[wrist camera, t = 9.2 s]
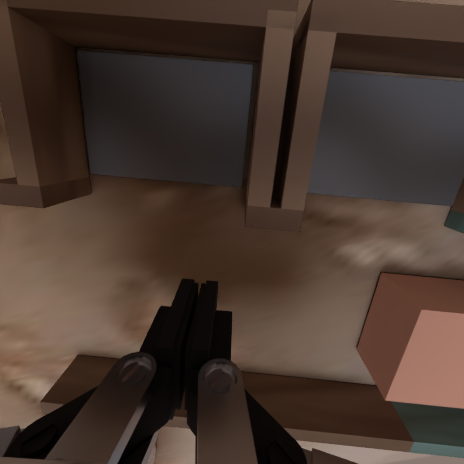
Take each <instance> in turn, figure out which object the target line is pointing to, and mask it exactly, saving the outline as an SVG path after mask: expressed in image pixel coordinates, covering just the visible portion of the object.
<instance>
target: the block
mask: <svg viewBox="0 0 464 464" xmlns="http://www.w3.org/2000/svg"><path fill="white" fill-rule="evenodd" d="M357 351H358V353H359V355H360V356H361V358H362V360H363V362H364V364H365V365H366V367H367V369H368V371H369V373H370V374H371V376H372V378H373V380H374V382H375V383H376V385H377V387H378V389H379V391H380V392H381V394H382V396H383V398H384V400H385V401H395V402H404V403H414V404H423V405H433V406H443V407H452V408H462V409H464V281H463V280H453V279H442V278H432V277H421V276H411V275H400V274H389V273H381V275H380V279H379V282H378V285H377V288H376V291H375V294H374V297H373V300H372V304H371V307H370V310H369V313H368V316H367V319H366V322H365V325H364V329H363V332H362V335H361V338H360V341H359V344H358V347H357Z"/></svg>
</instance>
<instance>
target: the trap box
mask: <svg viewBox="0 0 464 464" xmlns="http://www.w3.org/2000/svg"><path fill="white" fill-rule="evenodd" d="M297 6H298V0H0V101H1V105H2V110H3V115H4V120H5V125H6V130H7V134H8V139H9V144H10V149H11V154H12V159H13V163H14V168H15V173H16V178H9V179H1V180H0V204H3V205H14V206H25V207H36V208H46V207H49V206H52V205H56V204H59V203H62V202H66V201H69V200H72V199H75V198H79V197H82V196H85V195H88V194H91V187H90V178H89V169H88V160H87V150H86V141H85V132H84V123H83V114H82V105H81V95H80V86H79V77H78V68H77V59H76V50H75V47H84V48H97V49H109V50H121V51H134V52H146V53H159V54H171V55H183V56H196V57H208V58H221V59H233V60H245V61H258V62H260V65H259V74H258V84H257V94H256V104H255V114H254V124H253V133H252V143H251V153H250V163H249V173H248V182H247V192H246V202H245V227H252V228H263V229H274V230H284V231H295V232H300V229H301V223H302V218H303V213H304V207H305V202H306V196H307V193H310V194H321V195H332V196H343V197H355V198H366V199H377V200H388V201H399V202H410V203H421V204H433V205H444V206H452V208H451V211H450V213H449V216H448V218H447V221H446V224H445V226H446V227H449V228H451V229H454V230H456V231H459V232H461V233H464V82H462V81H450V80H437V79H425V78H413V77H400V76H388V75H376V74H363V73H351V72H338V71H330V67H332V68H345V69H357V70H369V71H382V72H394V73H407V74H419V75H431V76H444V77H456V78H464V6H457V5H444V4H430V3H417V2H404V1H391V0H311V2H310V4H309V6H308V9H307V11H306V13H305V15H304V17H303V19H302V22H301V24H300V26H299V28H298V30H297V33H296V35H295V37H294V39H293V35H294V28H295V20H296V13H297ZM292 42H293V44H292ZM291 50H292V52H291ZM77 54H78V63H79V73H80V82H81V91H82V100H83V110H84V119H85V128H86V138H87V147H88V156H89V166H90V174H98V175H109V176H121V177H132V178H143V179H154V180H165V181H176V182H187V183H199V184H210V185H221V186H232V187H242V178H243V168H244V157H245V147H246V136H247V126H248V115H249V105H250V94H251V83H252V73H253V65H252V64H240V63H227V62H215V61H202V60H190V59H178V58H165V57H153V56H141V55H128V54H116V53H104V52H91V51H79V50H77ZM290 57H291V59H290ZM289 64H290V66H289ZM288 72H289V74H288ZM287 79H288V81H287ZM286 86H287V88H286ZM285 94H286V95H285ZM284 101H285V103H284ZM283 108H284V110H283ZM282 116H283V117H282ZM281 123H282V125H281ZM280 130H281V132H280ZM279 138H280V139H279ZM278 145H279V147H278ZM277 152H278V154H277ZM276 159H277V161H276ZM275 167H276V169H275ZM274 174H275V176H274ZM273 181H274V183H273ZM272 189H273V191H272ZM118 360H119V359H111V358H101V357H92V356H82V355H77V357H76V358H75V359H74V360H73V362H72V363H71V364H70V365H69V367H68V368H67V369H66V370H65V372H64V373H63V374H62V375H61V377H60V378H59V379H58V380H57V382H56V383H55V384H54V385H53V387H52V388H51V389H50V390H49V392H48V393H47V394H46V395H45V397H44V398H43V399H42V400H41V402H40V403H41V407H42V411H43V413H48V414H49V413H50V412H52V411H54V410H56V409H58V408H59V407H61V406H63V405H65V404H66V403H68V402H70V401H72V400H74V399H75V398H77V397H79V396H81V395H82V394H84V393H86V392H88V391H89V390H91V389H93V388H95V387H97V386H98V385H99V384H100V383H101V382H102V380H103V379H104V378H105V376H106V375H107V374H108V372H109V371H110V369H111V368H112V367H113V365H114V364H115V363H116V362H117V361H118ZM241 375H242V379H243V385H244V389H245V390H246V391H247V392H248V393H249V394H250V395H251V396H252V397H253V398H254V399H255V400H256V401H257V402H258V403H259V404H260V405H261V406H262V407H263V408H264V409H265V410H266V411H267V412H268V413H269V414H270V415H271V416H272V417H273V418H274V419H275V420H276V421H277V422H278V423H279V424H280V425H281V426H282V427H283V428H284V429H285V430H286V431H287V432H288V433H289V434H290V435H291V436H292V437H293V438H294V439H295V440H300V441H309V442H319V443H328V444H337V445H347V446H356V447H365V448H375V449H384V450H393V451H402V452H412V453H421V454H430V455H440V456H449V457H459V458H464V409H462V408H452V407H443V406H433V405H423V404H414V403H404V402H395V401H385V400H384V398H383V396H382V394H381V392H380V391H379V389H378V387H377V386H373V385H364V384H354V383H344V382H334V381H325V380H315V379H305V378H296V377H286V376H276V375H266V374H257V373H247V372H241ZM184 408H185V391H184V396H183V400H182V405H181V409H180V410H175V413H174V417H173V420H169V421H168V423H166V424H165V425H164V426H170V427H179V428H188V429H190V428H189V426H188V425H187V410H185V409H184Z"/></svg>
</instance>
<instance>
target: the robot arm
mask: <svg viewBox="0 0 464 464" xmlns="http://www.w3.org/2000/svg"><path fill="white" fill-rule="evenodd" d="M217 294H218V281H206V284H204V283H202V284H201V288H200V292H199V296H198V283H194V280H193V279H182V280H181V283H180V285H179V288H178V290H177V293H176V295H175V298H174V300H173V303H172V305H171V307H169V306H161V307H160V308H159V310H158V312H157V314H156V316H155V318H154V320H153V323H152V325H151V327H150V329H149V331H148V333H147V335H146V338H145V340H144V342H143V344H142V346H141V348H140V351H139V352H136V353H131V354H128V355H126V356H124V357H122V358H121V359H119V360H118V361H117V362H116V363H115V364H114V365H113V367H112V368H111V369H110V371H109V372H108V374H107V375H106V376H105V378H104V379H103V380H102V382H101V383H100V384H99V385H98V386H97V387H95V388H93V389H91V390H89V391H88V392H86V393H84V394H82V395H81V396H79V397H77V398H75V399H74V400H72V401H70V402H68V403H66V404H65V405H63V406H61V407H59V408H58V409H56V410H54V411H52V412H50V413H49V414H47V415H45V416H43V417H42V418H40V419H38V420H36V421H35V422H33V423H32V424H30V425H29V426H28V427H26V428H25V429H20V427H19V426H14V427H7V428H1V429H0V464H147V462H148V460H149V457H150V455H151V452H152V450H153V447H154V445H155V442H156V440H157V437H158V433H159V429H160V428H161V427H163V426H164V425H165V424H166V423H168V421H169V420H173V417H174V413H175V410H180V409H181V405H182V400H183V396H184V391H185V408H184V409H185V410H187V425H188V426H189V428H190V429H191V431H192V432H193V433H194V435H195V436H196V439H195V464H357V463H354V462H352V461H349V460H346V459H343V458H340V457H337V456H334V455H331V454H328V453H326V452H323V451H320V450H317V449H314V448H312V451H309V450H306V449H303V448H301V446H300V445H299V444H298V443H297V441H296V440H295V439H294V438H293V437H292V436H291V435H290V434H289V433H288V432H287V431H286V430H285V429H284V428H283V427H282V426H281V425H280V424H279V423H278V422H277V421H276V420H275V419H274V418H273V417H272V416H271V415H270V414H269V413H268V412H267V411H266V410H265V409H264V408H263V407H262V406H261V405H260V404H259V403H258V402H257V401H256V400H255V399H254V398H253V397H252V396H251V395H250V394H249V393H248V392H247V391H246V390H245V389H244V385H243V379H242V375H241V372H240V369H239V368H238V367H237V365H236V364H234V363H233V362H232V361H231V335H232V312H231V311H218V310H216V308H217Z"/></svg>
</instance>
